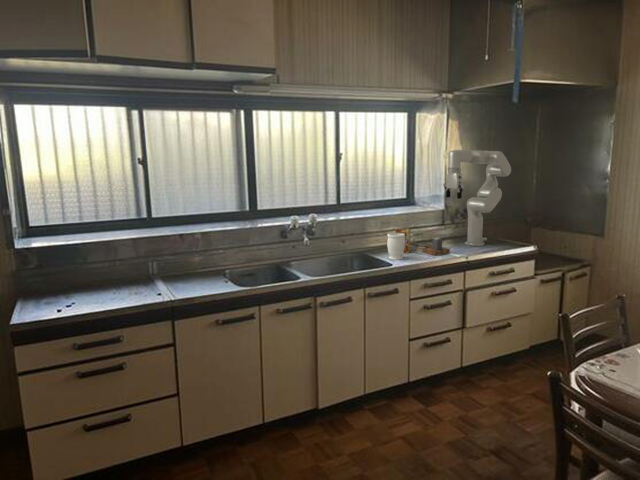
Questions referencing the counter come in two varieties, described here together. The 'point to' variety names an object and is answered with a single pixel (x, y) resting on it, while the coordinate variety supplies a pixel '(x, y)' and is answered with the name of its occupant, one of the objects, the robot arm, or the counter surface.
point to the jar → (395, 245)
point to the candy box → (405, 238)
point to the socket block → (431, 250)
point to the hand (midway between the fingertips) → (453, 197)
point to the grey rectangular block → (437, 244)
